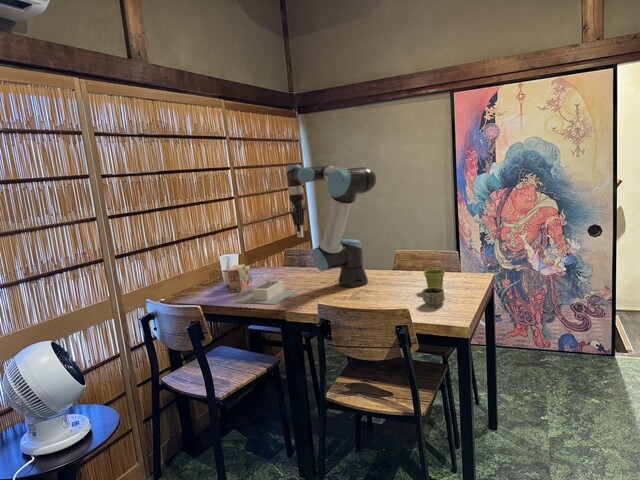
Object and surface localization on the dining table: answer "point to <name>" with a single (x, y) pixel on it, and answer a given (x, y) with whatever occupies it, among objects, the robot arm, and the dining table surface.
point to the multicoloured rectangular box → (239, 277)
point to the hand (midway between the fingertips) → (300, 237)
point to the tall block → (268, 290)
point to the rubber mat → (273, 300)
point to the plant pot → (434, 278)
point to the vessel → (433, 297)
